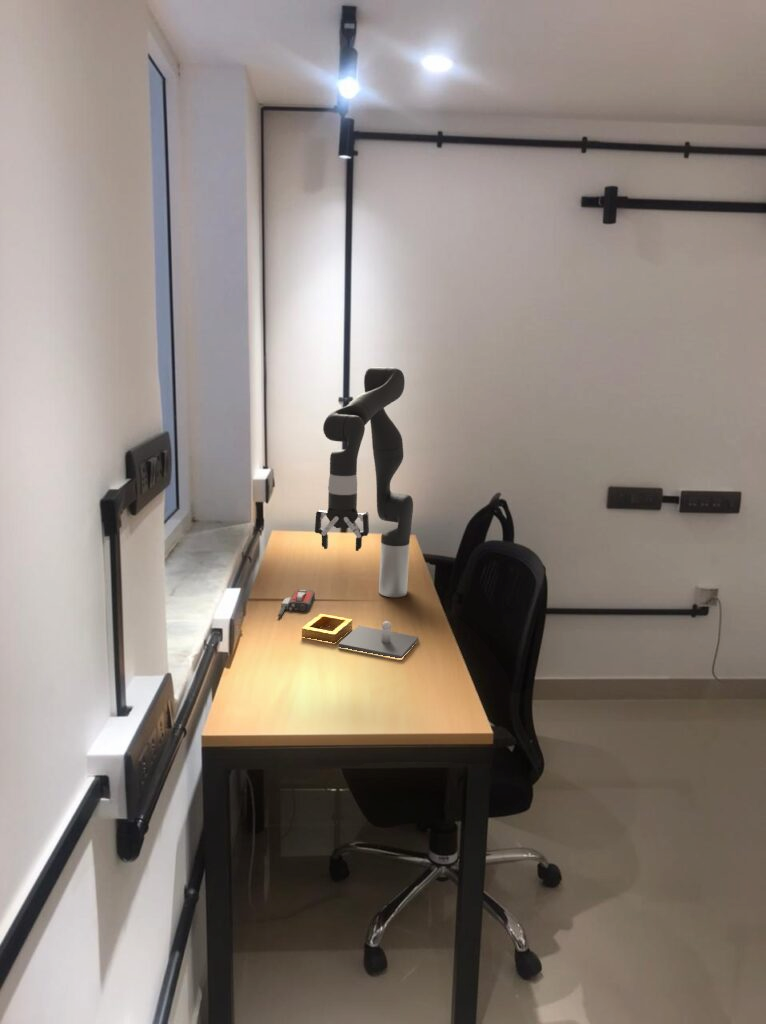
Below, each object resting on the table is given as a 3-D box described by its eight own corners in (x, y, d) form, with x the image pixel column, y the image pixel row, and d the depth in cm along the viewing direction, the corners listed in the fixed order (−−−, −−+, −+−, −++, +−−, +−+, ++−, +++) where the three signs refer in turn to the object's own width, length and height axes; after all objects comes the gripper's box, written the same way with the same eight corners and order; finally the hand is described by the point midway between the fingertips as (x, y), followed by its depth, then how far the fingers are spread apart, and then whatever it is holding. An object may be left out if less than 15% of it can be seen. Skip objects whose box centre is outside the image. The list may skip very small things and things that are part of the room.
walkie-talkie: (288, 596, 245) (275, 620, 225) (288, 583, 244) (275, 606, 224) (316, 598, 244) (305, 622, 225) (316, 585, 243) (305, 608, 224)
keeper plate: (358, 630, 219) (359, 606, 218) (418, 641, 213) (419, 617, 212) (338, 648, 207) (339, 623, 205) (401, 661, 200) (402, 635, 199)
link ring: (320, 623, 223) (320, 613, 223) (352, 629, 220) (352, 619, 219) (301, 638, 212) (302, 628, 212) (334, 644, 209) (335, 634, 208)
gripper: (371, 488, 205) (369, 546, 209) (318, 485, 206) (317, 543, 210) (368, 495, 198) (366, 555, 202) (313, 492, 199) (312, 551, 203)
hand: (341, 549), depth 206 cm, fingers open, 8 cm apart
